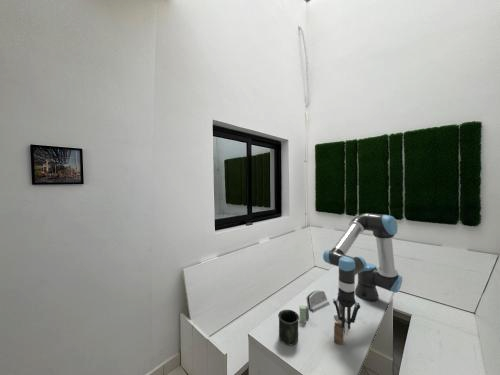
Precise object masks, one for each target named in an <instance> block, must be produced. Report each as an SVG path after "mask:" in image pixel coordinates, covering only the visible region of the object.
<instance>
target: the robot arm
mask: <svg viewBox="0 0 500 375" xmlns="http://www.w3.org/2000/svg"><path fill="white" fill-rule="evenodd" d="M398 229H399V228H398V222H397V219H396V218H395V217H394V216H392V215H388V214H379V213H369V212H366V213H361V214H359V215H357V216H356V217H354V218H353V219H351V221H350V222H349V224H348V227H347V228H346V230H345V231H344V233H343V234H342V235H341V237H340V238H339V239H338V241H337V242H336V243H335V245H334V246H333V248H331V249H326V250H324V252H323V254H322V259H323V261H324V262H325V263H327V264H329V265H333V266H335V267H338V292H337V298H333V299H332V302H333V304H334V306H335V310H336V315H338V319H339V320H341V321H342V328H343V336H345V337H349V330H350V329H351V323H352V324H354V323H355V321H356V319H357V314H358V312H359V309H360V308H361V305H360V303H359V302H357V301H356V298H355V296H356V297H358V298H359V299H361V300H363V301H366V302H377V301H379V292H378V290H377V287H378V288H381V289H384V290H387V291H389V292H391V293H392V292H393V293H396V294H397V293H398V292H400V290H401V286H402V283H403V276H402V275H400V274H399V273H398V272H399V271H398V270H397V269H396V266H395V257H394V256H395V255H394V246H393V238H394V237H395V235H396V234H397V233H398ZM365 231H368V232H369V231H370V232H372V235H373V237H375V238H376V239H375V240H376V248H377V258H378V259H377V260H378V265H379V267H378V268H377V265H375V264H374V263H367V261H366V260H365V259H364V258H363V257H361V256H354V257H353V256H350V255H347V253H348V251H350V249H351V247H352V246H353V245H354V243H355V241H356V240H357V238H358V237H359V236H360V234H362V233H364V232H365ZM356 276H357V284H356V282H355V281H356ZM355 284H356V285H355ZM339 303H340V304H341V305H342V317H341V316H340V312H339V308H338V306H339ZM353 306H354V307H353ZM352 307H353V310H352ZM346 308H347V309H346ZM346 311H347V312H346ZM351 311H352V313H351ZM346 313H347V314H346ZM345 318H346V319H347V320H345Z"/></svg>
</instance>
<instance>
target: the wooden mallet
mask: <svg viewBox="0 0 500 375" xmlns="http://www.w3.org/2000/svg"><path fill="white" fill-rule="evenodd" d="M340 316H341V317H342V312H340ZM333 326H334V327H333V333H334V334H333V343H336V344H339V345H342V346H343V344H344V328H342V321H341V320H339V319H338V322H337V321H336V322H334V324H333Z"/></svg>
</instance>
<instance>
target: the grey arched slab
mask: <svg viewBox="0 0 500 375" xmlns="http://www.w3.org/2000/svg"><path fill="white" fill-rule="evenodd" d="M305 298H306V304H307V305H306V306H308V308H309V310H312V311H313V313H316V312H318V311H320V310H321V309H324V308H325V307H328V306H329V305H330V301H329V300H328V299H327V296H326V292H325V291H324V290H320V289H319V290H314V291H311V292H310V293H308V295H306V297H305Z"/></svg>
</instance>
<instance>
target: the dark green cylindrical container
mask: <svg viewBox="0 0 500 375" xmlns="http://www.w3.org/2000/svg"><path fill="white" fill-rule="evenodd" d="M277 317H278V338H279V340H280V341H281V343H283V344H284V345H287V346H293V345H295V344H296V343H297V342H298V340H299V321H300V319H299V317H300V314H298V313H297V312H296V311H295V310H292V309H283V310H280V311H279V312H278V315H277Z"/></svg>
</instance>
